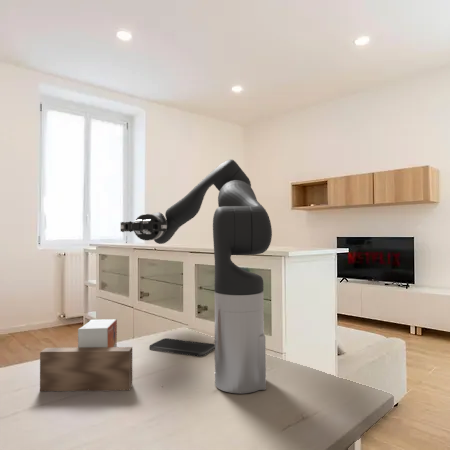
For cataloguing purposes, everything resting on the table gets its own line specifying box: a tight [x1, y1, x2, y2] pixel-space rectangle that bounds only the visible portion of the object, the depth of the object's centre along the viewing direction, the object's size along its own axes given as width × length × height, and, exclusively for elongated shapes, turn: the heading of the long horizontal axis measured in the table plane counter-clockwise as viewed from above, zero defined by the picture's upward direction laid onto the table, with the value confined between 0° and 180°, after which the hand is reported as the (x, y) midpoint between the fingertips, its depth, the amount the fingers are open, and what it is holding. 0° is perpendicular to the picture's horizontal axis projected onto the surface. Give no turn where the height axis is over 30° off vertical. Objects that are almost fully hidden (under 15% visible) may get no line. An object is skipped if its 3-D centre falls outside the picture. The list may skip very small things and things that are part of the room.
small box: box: [77, 318, 118, 348], centre depth 73 cm, size 8×6×10 cm
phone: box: [148, 337, 215, 357], centre depth 91 cm, size 8×1×15 cm
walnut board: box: [39, 346, 133, 392], centre depth 68 cm, size 16×2×7 cm, turn 91°
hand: (136, 226), depth 91 cm, fingers closed
